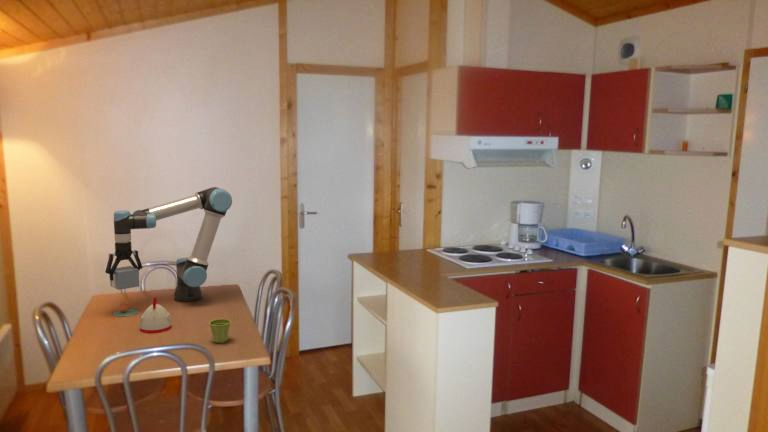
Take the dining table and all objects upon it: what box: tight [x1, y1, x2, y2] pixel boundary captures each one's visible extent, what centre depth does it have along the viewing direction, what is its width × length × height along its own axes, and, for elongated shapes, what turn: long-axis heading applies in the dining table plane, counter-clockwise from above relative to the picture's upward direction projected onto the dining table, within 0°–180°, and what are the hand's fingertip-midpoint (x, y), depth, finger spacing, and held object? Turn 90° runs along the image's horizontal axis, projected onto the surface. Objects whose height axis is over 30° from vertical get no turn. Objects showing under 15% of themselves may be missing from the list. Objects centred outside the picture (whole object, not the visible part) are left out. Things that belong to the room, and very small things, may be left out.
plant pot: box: [208, 318, 232, 344], centre depth 254 cm, size 9×9×9 cm
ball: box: [117, 301, 130, 312], centre depth 292 cm, size 5×5×5 cm
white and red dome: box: [139, 297, 172, 334], centre depth 268 cm, size 14×14×15 cm
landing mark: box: [112, 308, 140, 318], centre depth 291 cm, size 12×12×1 cm
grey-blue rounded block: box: [109, 265, 140, 291], centre depth 289 cm, size 10×10×9 cm
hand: (124, 284), depth 289 cm, fingers closed on grey-blue rounded block, 10 cm apart
